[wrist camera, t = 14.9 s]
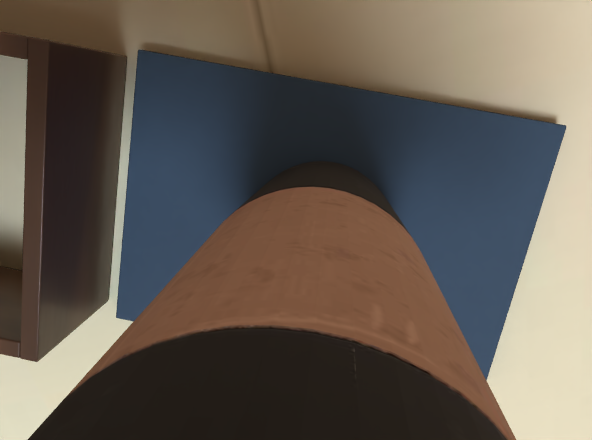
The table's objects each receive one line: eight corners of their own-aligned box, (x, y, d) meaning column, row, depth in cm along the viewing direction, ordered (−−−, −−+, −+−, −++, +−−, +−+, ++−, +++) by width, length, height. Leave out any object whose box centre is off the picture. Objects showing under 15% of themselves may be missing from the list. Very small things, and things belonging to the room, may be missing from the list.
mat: (123, 310, 27) (115, 318, 26) (145, 51, 23) (137, 49, 22) (477, 382, 26) (483, 393, 25) (557, 124, 22) (567, 125, 21)
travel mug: (412, 286, 24) (733, 1091, 4) (267, 316, 25) (19, 1064, 6) (380, 136, 22) (667, 388, 3) (226, 175, 23) (-331, 548, 4)
